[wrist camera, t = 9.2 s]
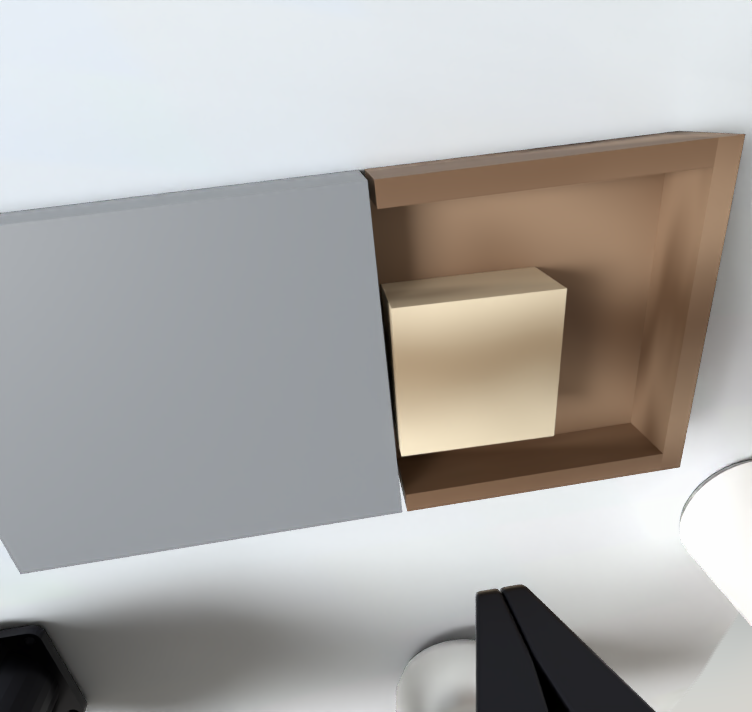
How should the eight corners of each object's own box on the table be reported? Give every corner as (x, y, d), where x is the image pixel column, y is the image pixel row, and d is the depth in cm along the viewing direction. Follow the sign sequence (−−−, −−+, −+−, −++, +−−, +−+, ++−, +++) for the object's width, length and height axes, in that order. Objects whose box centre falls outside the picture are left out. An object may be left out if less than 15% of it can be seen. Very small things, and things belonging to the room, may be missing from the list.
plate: (391, 463, 22) (402, 512, 19) (57, 515, 21) (20, 574, 18) (358, 169, 17) (367, 180, 14) (-87, 223, 16) (-168, 245, 13)
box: (635, 425, 23) (679, 467, 20) (395, 462, 22) (407, 511, 19) (677, 131, 17) (745, 134, 15) (364, 169, 17) (374, 179, 14)
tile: (527, 400, 20) (554, 435, 18) (391, 418, 20) (401, 456, 18) (534, 266, 18) (566, 288, 16) (381, 283, 18) (391, 308, 15)
